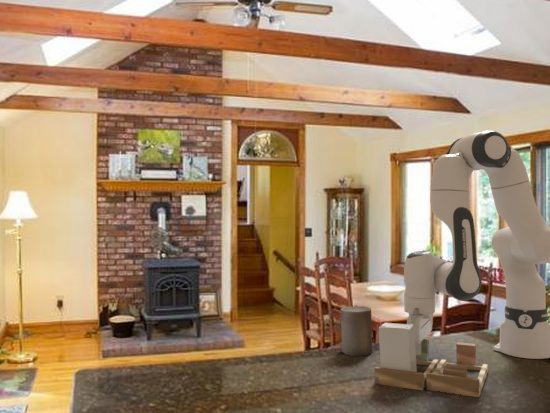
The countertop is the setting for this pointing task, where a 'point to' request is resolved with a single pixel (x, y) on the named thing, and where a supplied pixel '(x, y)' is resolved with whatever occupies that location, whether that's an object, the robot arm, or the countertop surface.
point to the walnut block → (455, 370)
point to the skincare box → (397, 346)
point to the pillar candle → (356, 330)
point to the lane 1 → (407, 372)
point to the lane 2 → (457, 383)
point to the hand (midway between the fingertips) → (419, 352)
